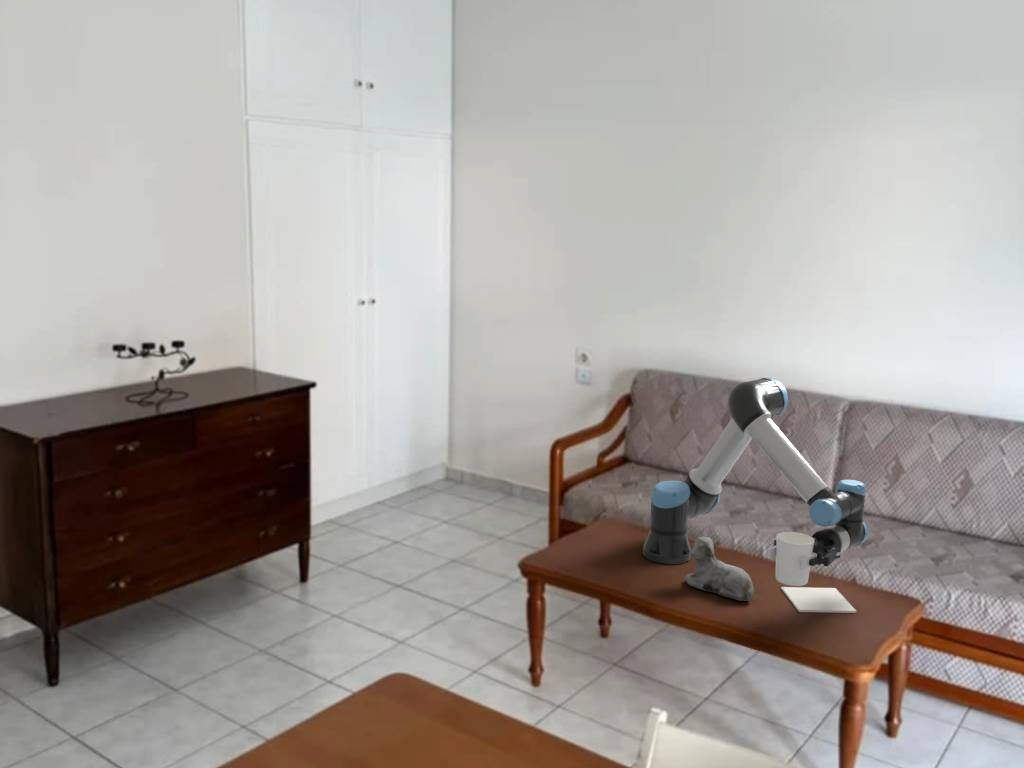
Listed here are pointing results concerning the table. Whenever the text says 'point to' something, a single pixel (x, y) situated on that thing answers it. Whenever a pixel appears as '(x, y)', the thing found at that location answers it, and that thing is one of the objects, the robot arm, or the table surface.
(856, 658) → the table surface
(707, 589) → the sculpture
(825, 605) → the tile
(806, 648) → the table surface
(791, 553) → the candle holder
